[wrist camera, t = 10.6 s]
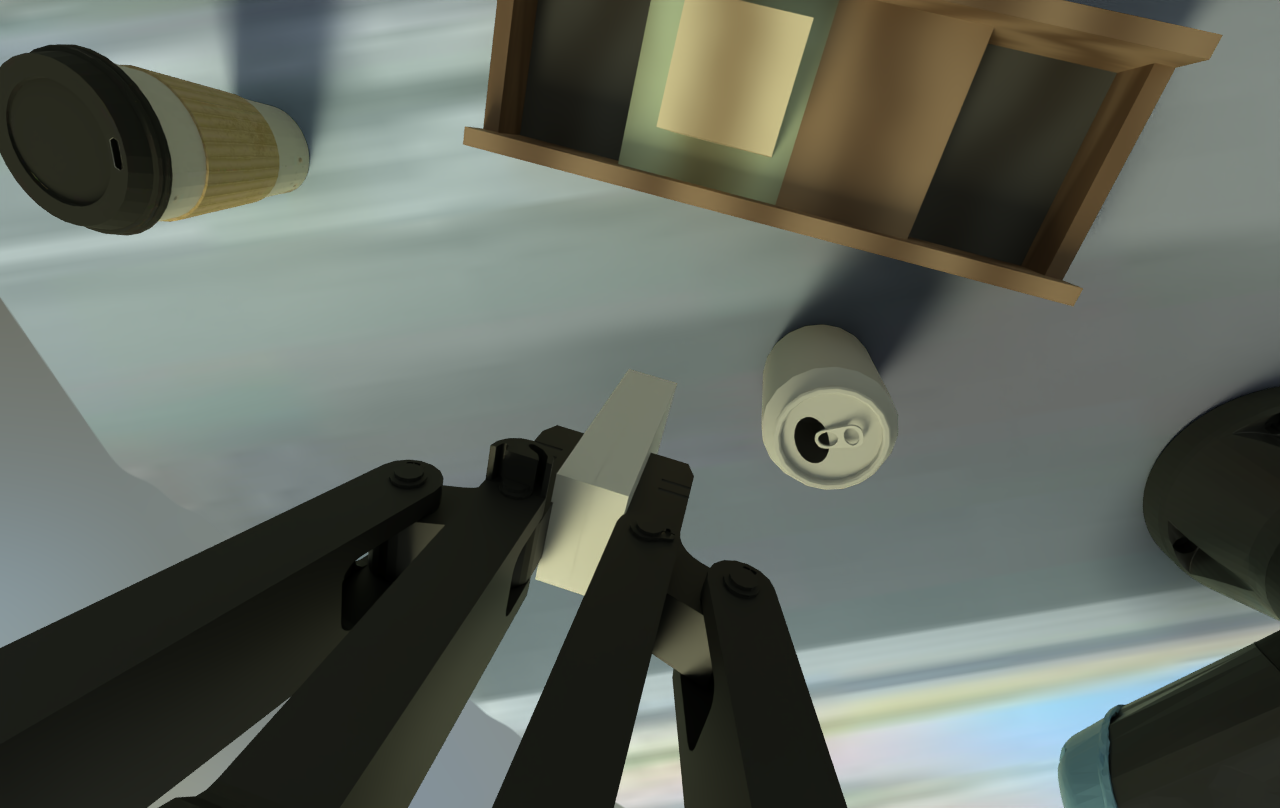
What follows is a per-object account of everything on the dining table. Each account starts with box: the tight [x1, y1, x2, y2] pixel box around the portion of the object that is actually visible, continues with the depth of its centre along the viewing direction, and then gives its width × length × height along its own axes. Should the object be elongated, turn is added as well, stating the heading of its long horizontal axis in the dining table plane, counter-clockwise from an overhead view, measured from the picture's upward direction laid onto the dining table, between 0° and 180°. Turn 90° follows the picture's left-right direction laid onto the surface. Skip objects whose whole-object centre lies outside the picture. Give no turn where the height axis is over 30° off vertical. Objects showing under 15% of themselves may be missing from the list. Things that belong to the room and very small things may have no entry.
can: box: [762, 324, 898, 489], centre depth 38 cm, size 8×8×12 cm
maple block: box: [656, 0, 814, 158], centre depth 31 cm, size 6×6×6 cm
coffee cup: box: [0, 44, 309, 235], centre depth 38 cm, size 10×10×15 cm
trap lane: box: [463, 0, 1222, 306], centre depth 34 cm, size 36×13×6 cm, turn 77°
